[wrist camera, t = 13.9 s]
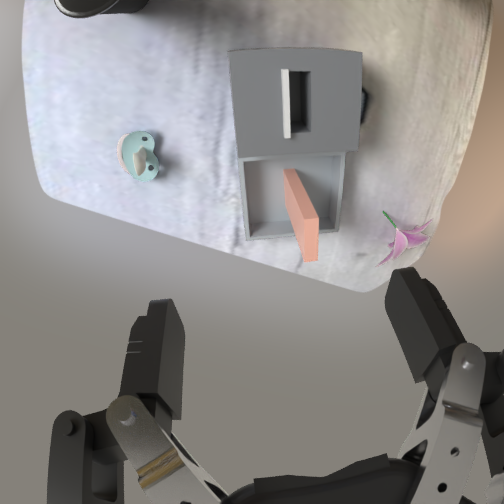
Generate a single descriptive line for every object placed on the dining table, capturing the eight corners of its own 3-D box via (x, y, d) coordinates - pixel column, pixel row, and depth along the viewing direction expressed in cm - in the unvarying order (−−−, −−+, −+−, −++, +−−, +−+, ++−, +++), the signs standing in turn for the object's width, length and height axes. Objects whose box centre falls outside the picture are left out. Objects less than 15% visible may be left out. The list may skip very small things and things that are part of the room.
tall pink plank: (294, 168, 42) (318, 217, 32) (295, 204, 46) (317, 260, 36) (283, 169, 42) (304, 219, 32) (285, 205, 46) (304, 262, 36)
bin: (335, 141, 40) (345, 151, 37) (330, 217, 49) (338, 231, 46) (236, 147, 40) (237, 157, 37) (244, 225, 48) (246, 241, 45)
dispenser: (337, 48, 32) (365, 52, 25) (336, 131, 40) (360, 153, 33) (227, 50, 32) (228, 52, 25) (235, 136, 39) (238, 161, 32)
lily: (353, 247, 55) (385, 287, 50) (362, 212, 44) (402, 259, 40) (399, 217, 56) (430, 253, 51) (413, 179, 45) (452, 220, 41)
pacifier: (125, 178, 41) (163, 172, 41) (111, 199, 37) (154, 193, 37) (113, 132, 37) (153, 124, 37) (96, 147, 32) (141, 138, 32)
